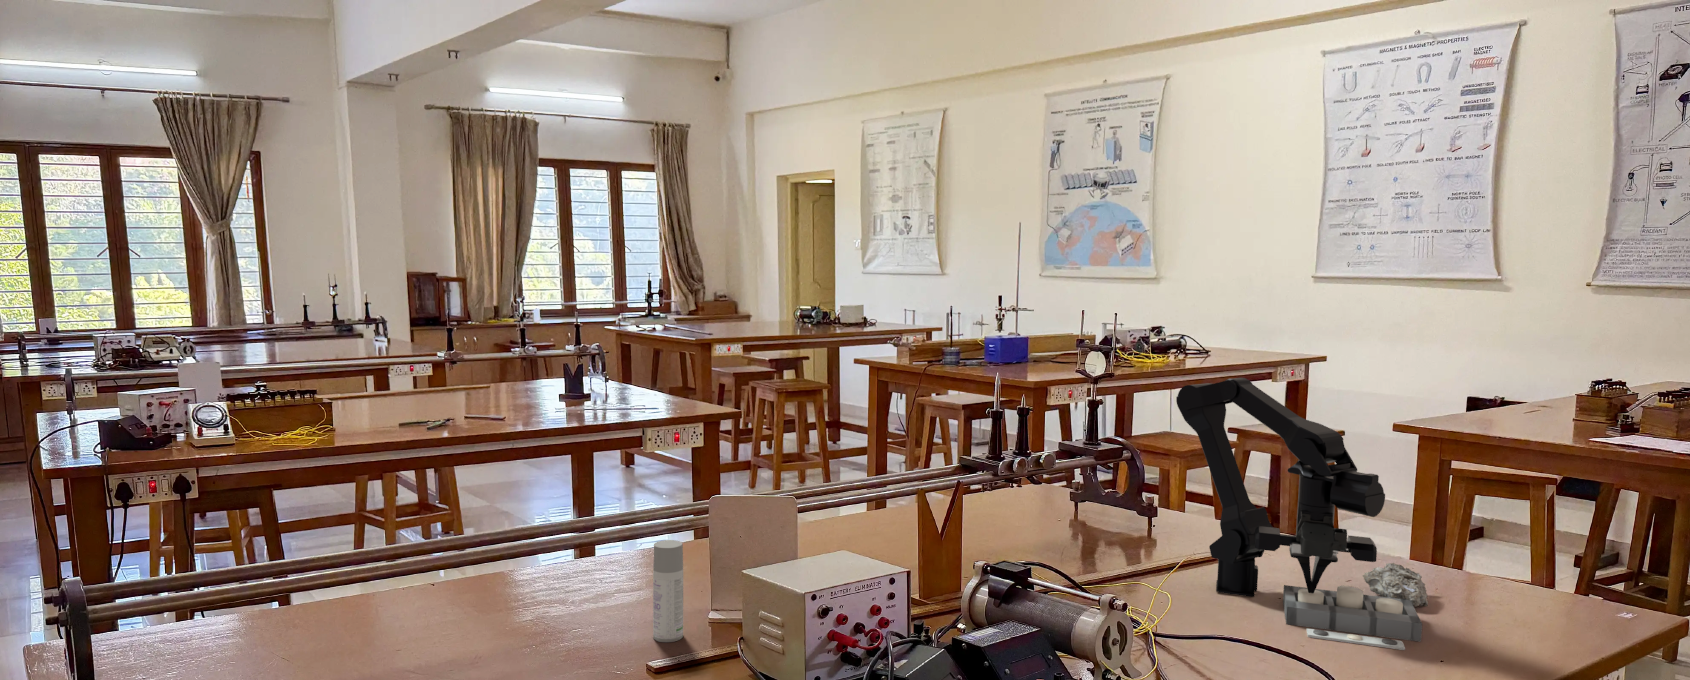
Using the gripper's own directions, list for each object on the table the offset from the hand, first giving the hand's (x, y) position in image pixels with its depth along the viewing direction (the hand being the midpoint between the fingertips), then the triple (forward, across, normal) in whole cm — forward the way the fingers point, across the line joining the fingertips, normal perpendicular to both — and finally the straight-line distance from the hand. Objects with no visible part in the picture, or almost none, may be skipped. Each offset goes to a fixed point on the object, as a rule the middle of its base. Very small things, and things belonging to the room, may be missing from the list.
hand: (1310, 592), depth 177 cm
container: (+4, -96, -51) cm, 109 cm away
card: (+4, +6, -10) cm, 12 cm away
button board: (+4, +6, 0) cm, 7 cm away
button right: (+4, +12, 0) cm, 13 cm away
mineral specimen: (+4, +16, +16) cm, 22 cm away
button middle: (+2, +6, 0) cm, 6 cm away
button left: (+4, 0, 0) cm, 4 cm away
